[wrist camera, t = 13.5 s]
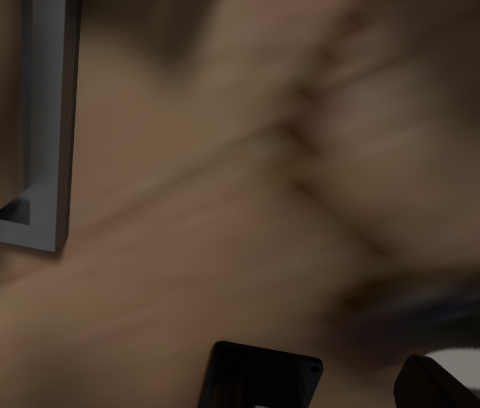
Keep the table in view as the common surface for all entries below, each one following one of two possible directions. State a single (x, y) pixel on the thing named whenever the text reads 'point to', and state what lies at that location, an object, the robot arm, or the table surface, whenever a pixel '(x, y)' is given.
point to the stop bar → (11, 101)
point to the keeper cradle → (46, 125)
